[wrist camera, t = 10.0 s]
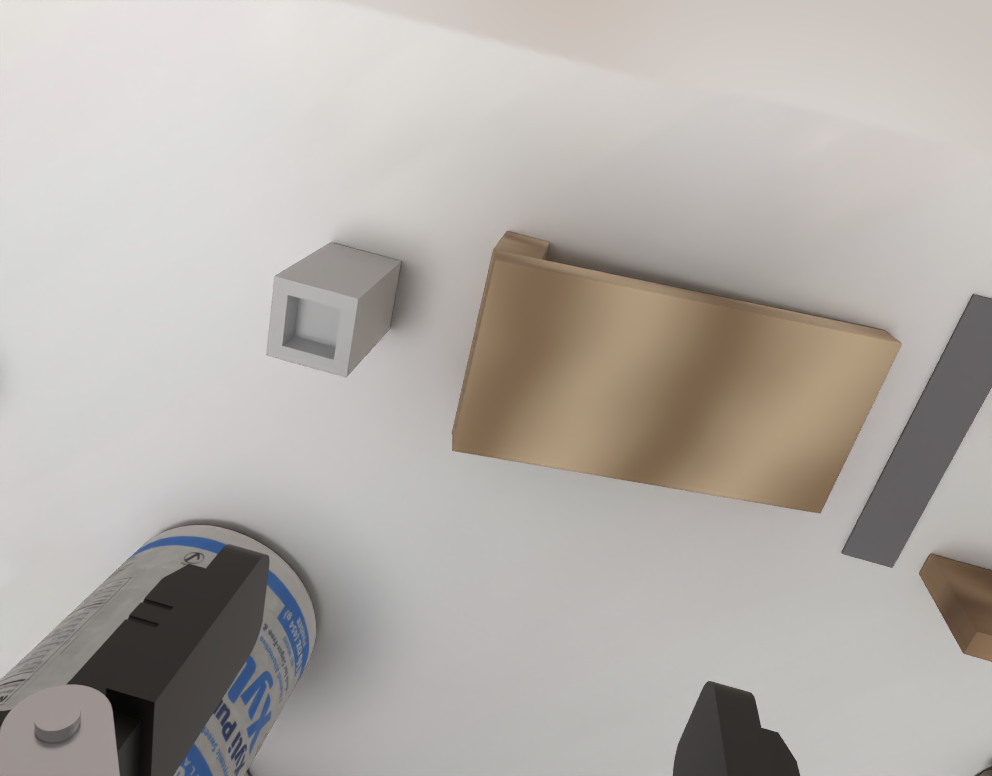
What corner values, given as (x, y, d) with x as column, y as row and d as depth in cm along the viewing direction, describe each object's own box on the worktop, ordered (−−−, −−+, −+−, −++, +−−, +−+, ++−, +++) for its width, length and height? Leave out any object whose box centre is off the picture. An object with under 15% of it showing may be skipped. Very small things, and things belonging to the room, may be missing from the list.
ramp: (467, 401, 31) (444, 448, 27) (506, 231, 28) (487, 257, 24) (813, 496, 30) (839, 559, 26) (890, 331, 27) (932, 376, 23)
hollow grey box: (321, 310, 30) (266, 355, 26) (330, 242, 29) (274, 276, 24) (389, 329, 30) (346, 377, 25) (401, 261, 29) (358, 298, 24)
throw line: (841, 552, 31) (842, 553, 30) (972, 294, 26) (974, 295, 26) (891, 566, 30) (892, 567, 30) (1032, 309, 26) (1033, 310, 26)
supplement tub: (361, 610, 36) (200, 936, 22) (252, 708, 40) (59, 1038, 26) (196, 476, 34) (-81, 740, 21) (99, 590, 38) (-189, 877, 25)
